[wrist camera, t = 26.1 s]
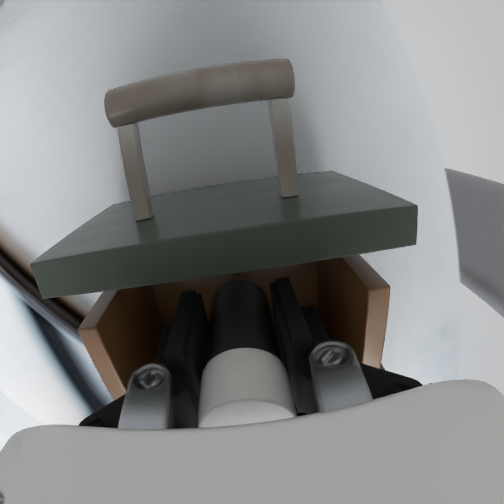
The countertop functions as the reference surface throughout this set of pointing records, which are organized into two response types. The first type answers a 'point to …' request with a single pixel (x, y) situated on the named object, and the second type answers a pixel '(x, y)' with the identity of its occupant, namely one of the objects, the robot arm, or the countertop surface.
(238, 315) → the white and black cylinder
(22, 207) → the countertop surface
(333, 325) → the drawer
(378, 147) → the countertop surface
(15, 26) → the countertop surface
